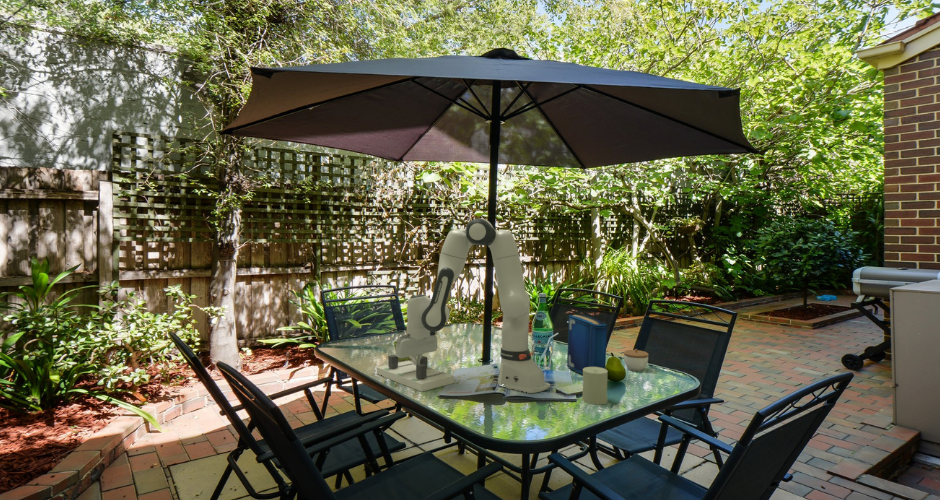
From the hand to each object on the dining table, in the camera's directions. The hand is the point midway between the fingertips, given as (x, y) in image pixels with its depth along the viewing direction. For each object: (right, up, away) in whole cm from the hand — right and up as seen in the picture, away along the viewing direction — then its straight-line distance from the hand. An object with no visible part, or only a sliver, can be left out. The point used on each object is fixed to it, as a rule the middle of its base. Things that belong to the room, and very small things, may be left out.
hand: (416, 364), depth 218 cm
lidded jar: (+99, -6, +16) cm, 100 cm away
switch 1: (-11, -2, +4) cm, 12 cm away
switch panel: (-1, -6, 0) cm, 6 cm away
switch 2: (+3, -3, -11) cm, 11 cm away
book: (+74, -6, +8) cm, 75 cm away
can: (+70, -8, -26) cm, 75 cm away
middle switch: (+2, -2, +2) cm, 4 cm away
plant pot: (-10, -4, +30) cm, 31 cm away
